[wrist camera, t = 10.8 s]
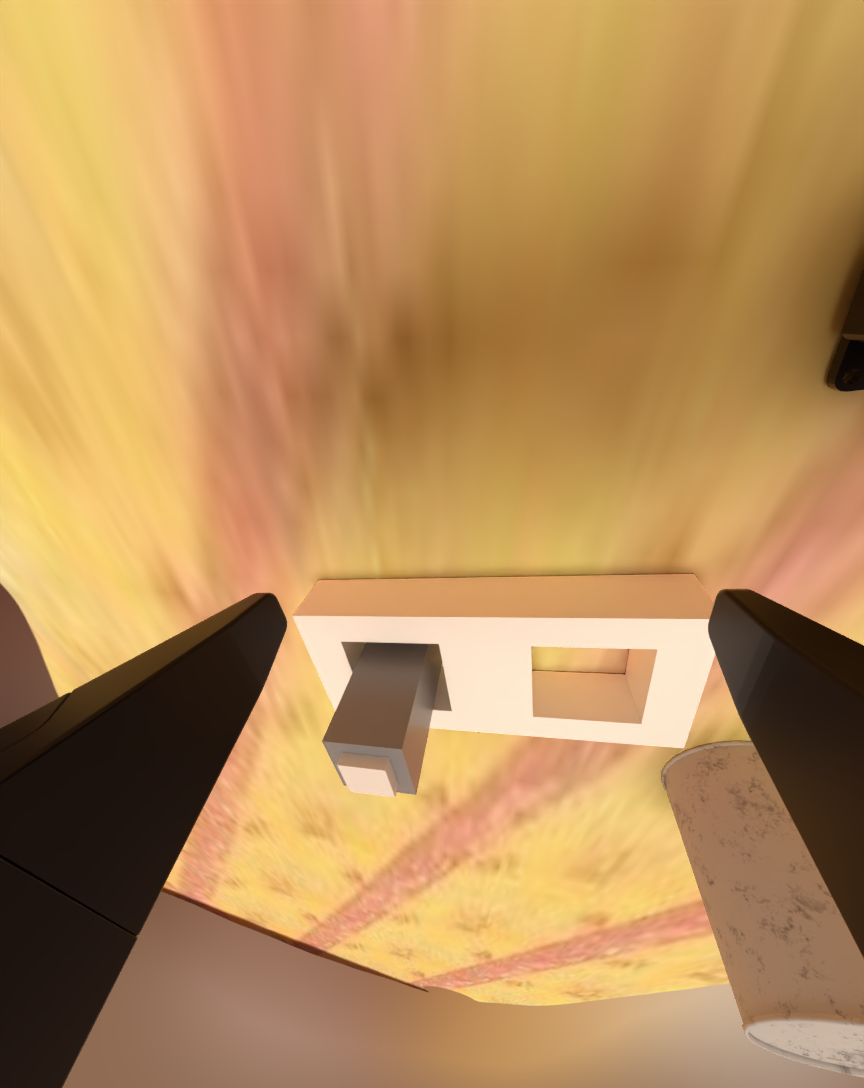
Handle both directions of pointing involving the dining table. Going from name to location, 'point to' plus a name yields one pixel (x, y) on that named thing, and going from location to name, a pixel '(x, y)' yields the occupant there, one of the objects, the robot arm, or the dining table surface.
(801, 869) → the stone cylinder
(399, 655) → the plug
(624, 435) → the dining table surface
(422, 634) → the socket strip
